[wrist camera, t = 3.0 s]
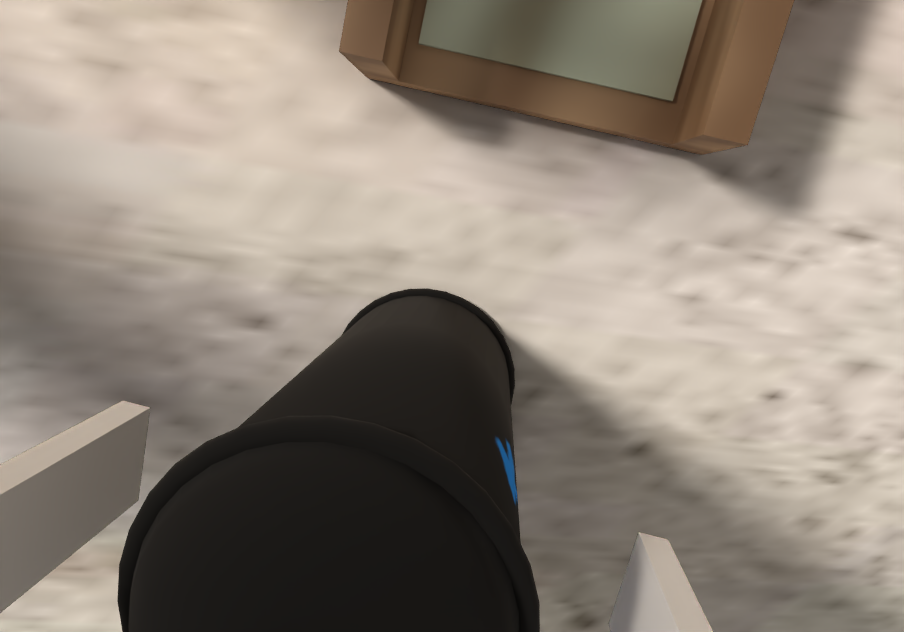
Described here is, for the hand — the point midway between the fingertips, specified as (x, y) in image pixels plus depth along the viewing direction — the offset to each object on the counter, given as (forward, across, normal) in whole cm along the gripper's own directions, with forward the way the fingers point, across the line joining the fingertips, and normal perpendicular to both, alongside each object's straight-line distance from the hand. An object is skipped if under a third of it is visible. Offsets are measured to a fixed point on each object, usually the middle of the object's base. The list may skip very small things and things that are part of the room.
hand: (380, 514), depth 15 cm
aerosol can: (+12, 0, 0) cm, 12 cm away
